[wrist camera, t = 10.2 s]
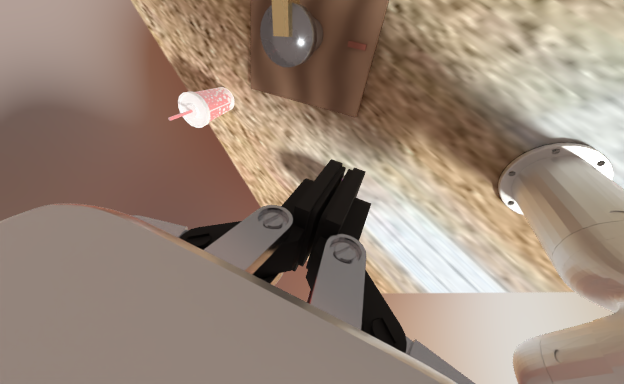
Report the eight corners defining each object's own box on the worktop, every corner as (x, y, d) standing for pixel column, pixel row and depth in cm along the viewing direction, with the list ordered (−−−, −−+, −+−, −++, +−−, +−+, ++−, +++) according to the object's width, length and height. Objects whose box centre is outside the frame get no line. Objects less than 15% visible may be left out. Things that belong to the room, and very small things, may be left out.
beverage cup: (209, 80, 47) (148, 95, 36) (236, 85, 46) (180, 102, 35) (214, 111, 51) (159, 133, 40) (239, 116, 50) (189, 141, 39)
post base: (401, -46, 29) (398, -63, 24) (357, 115, 41) (348, 128, 36) (256, -66, 33) (224, -85, 27) (255, 86, 45) (232, 94, 39)
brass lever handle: (263, -72, 26) (243, -86, 23) (322, -77, 24) (308, -92, 21) (271, 63, 34) (256, 66, 31) (316, 67, 32) (306, 71, 29)
